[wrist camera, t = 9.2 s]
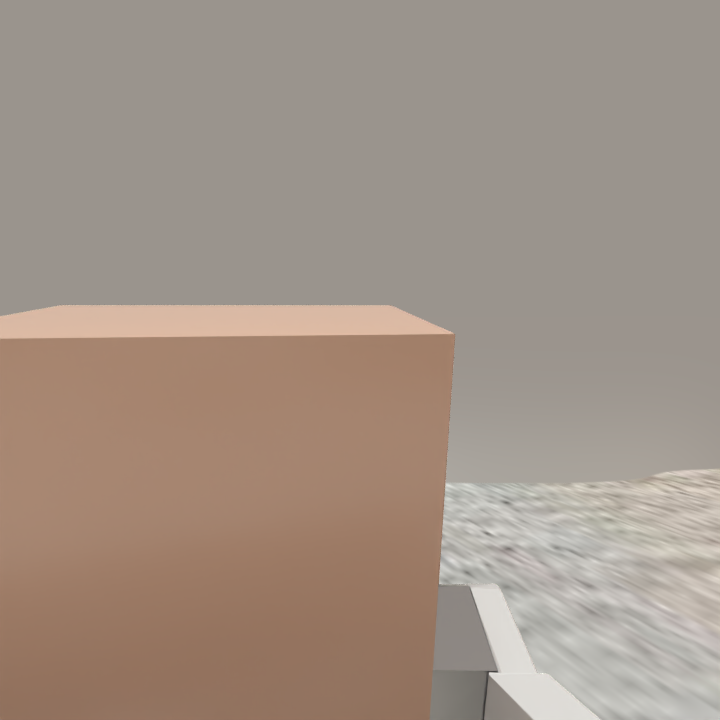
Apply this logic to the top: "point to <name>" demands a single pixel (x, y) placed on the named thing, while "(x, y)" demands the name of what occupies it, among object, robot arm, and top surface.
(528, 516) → the top surface
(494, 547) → the top surface
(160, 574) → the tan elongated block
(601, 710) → the top surface
